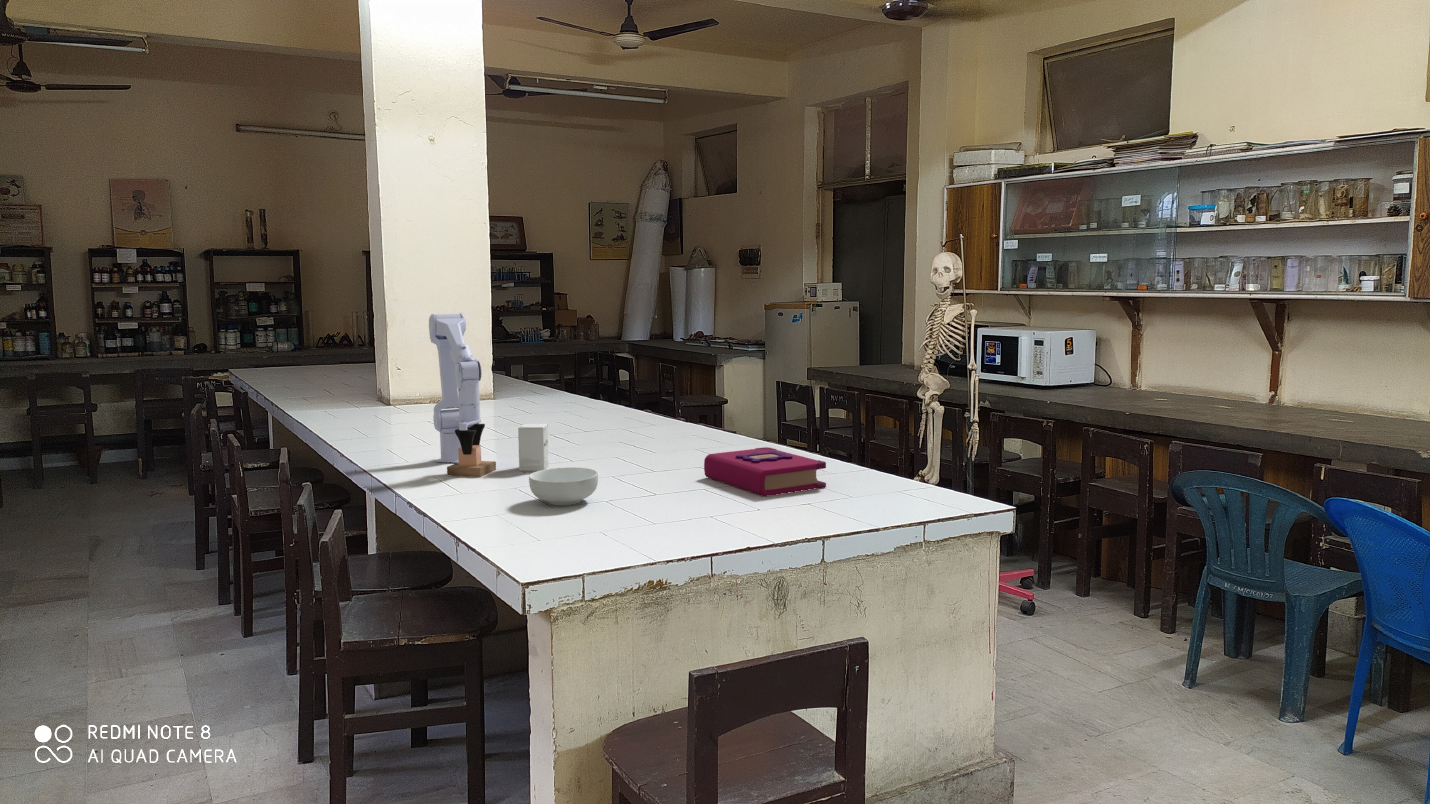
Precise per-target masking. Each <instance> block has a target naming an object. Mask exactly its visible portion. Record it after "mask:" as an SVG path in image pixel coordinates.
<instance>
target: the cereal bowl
mask: <svg viewBox="0 0 1430 804" xmlns="http://www.w3.org/2000/svg"><path fill="white" fill-rule="evenodd" d="M528 483H529V489H530V491H531V493H532V494H533V496H535V497H536V498H537V499H538V500H539V499H540V500H541V501H545V502H547V504H550V505H551V506H552V505H553V506H572V505H577V504H579V503H581V502H582V500H584V499H586V498H587V499H588V497H590V496H592V495H593V493H595V491H596V489H597V487H598V483H599V475H598V471H596V470H595V469H592V468H587V467H573V466H571V467H567V466H566V467H556V468H546V469H545V470H540V471H533V472H531V473H530V474H529V476H528Z"/></svg>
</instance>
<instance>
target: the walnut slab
mask: <svg viewBox="0 0 1430 804" xmlns="http://www.w3.org/2000/svg"><path fill="white" fill-rule="evenodd" d="M446 470H447V471H446V475H453V476H452V477H467V478H468V477H470V478H471V477H472V478H473V477H474V478H482V477H484V476H486V475H489V474H491V473H493V472H495V471H497V461H495V460H492V461H491V460H490V461H489V460H481V463H480V464H479V465H477V466H459V462H458V463H454V464H451V465H449V466H446Z"/></svg>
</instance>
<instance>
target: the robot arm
mask: <svg viewBox="0 0 1430 804" xmlns="http://www.w3.org/2000/svg"><path fill="white" fill-rule="evenodd" d="M466 321H467V320H466V317H465V315H464V314H463V313H462V312H460V313H439V314H438V313H437V314H436V313H431V314H430V316H429V318H428V329H429V330H428V331H429V339H430V343H432V344H434V345H436V349H437V355H438V366H439V367H438V368H439V377H440V388H441V389H440V390H441V396H442V397H441V399H440V400H439V401H438V402H437V403H436V404H435V405H434V407H433V426H434V429H435V430H436V431H437V432H438V433H439V439H440V440H439V442H440V443H439V444H440V445H439V446H440V447H439V448H440V458H438V459H436V460H435V463H450V462H451V463H454V464H456V463H458V462H459V454H458V448H460V447H461V448H462V452H463V455H471V453H472V446H473V445H481V444H480V443H481V438H482V434H483V431H484V429H485V427H486V423H481V422H482V419H481V405H480V404H481V401H480V399H481V398H480V381H481V379H482V374H483V373H482V366H481V362H480V361H479V360H478V359H477V358H474V354H473V352H472V350H471V347H470V346H469V345H468V344H466V343H465V341H464V340H465V339H464V334H465V332H466V329H467V322H466Z"/></svg>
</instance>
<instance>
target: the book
mask: <svg viewBox="0 0 1430 804" xmlns="http://www.w3.org/2000/svg"><path fill="white" fill-rule="evenodd" d="M703 467H704V469H703V470H704V475H705V477H706V478H707V477H708V479H710V478H711V480H713V481H716V480H717V481H716V482H719V481H720V482H719V483H722V482H723V484H725V483H726V484H725V485H728V486H732V487H734V486H735V487H734V488H737V487H738V489H740V488H741V489H740V490H743V491H746V490H747V492H749V491H750V492H749V493H753V494H755V493H756V494H755V495H758V494H759V495H758V496H761V495H762V497H764V496H765V497H768V496H767V495H772V496H777V495H776V494H779V495H782V494H781V493H786V494H789V493H788V492H793V493H796V492H795V491H800V492H802V491H801V490H807V491H809V490H808V489H814V488H822V487H826V488H827V482H824V481H820V480H818V479H817V471H818V470H822V469H827V462H826V461H823V460H819V459H818V460H817V459H814V458H809V457H807V456H806V457H805V456H803V455H802V456H801V455H798V454H794V453H790V452H786V451H782V450H779V449H777V448H773V447H768V446H766V447H755V448H750V449H743V450H733V451H726V452H725V451H724V452H716V453H708V454H707V455H706V456H705V457H704V463H703ZM822 489H823V488H822ZM814 490H815V489H814Z"/></svg>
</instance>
